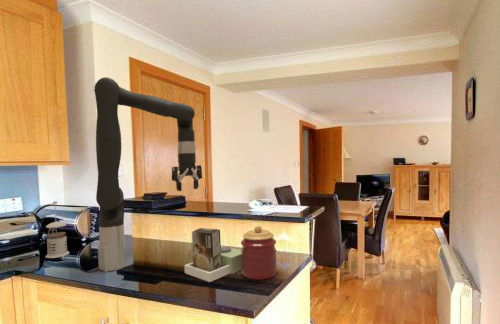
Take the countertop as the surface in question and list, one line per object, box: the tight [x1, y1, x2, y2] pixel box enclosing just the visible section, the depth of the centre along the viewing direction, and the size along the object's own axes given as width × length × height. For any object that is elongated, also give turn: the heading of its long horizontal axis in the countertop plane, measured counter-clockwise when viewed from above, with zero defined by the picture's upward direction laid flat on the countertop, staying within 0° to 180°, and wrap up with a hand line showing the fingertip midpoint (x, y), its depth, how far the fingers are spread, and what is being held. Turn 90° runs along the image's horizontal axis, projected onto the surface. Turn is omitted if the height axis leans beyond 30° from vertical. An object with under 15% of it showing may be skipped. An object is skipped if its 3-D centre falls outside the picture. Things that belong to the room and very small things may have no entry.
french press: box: [44, 200, 70, 259], centre depth 148 cm, size 10×12×25 cm
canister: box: [240, 225, 278, 281], centre depth 116 cm, size 13×13×18 cm
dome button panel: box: [184, 244, 242, 283], centre depth 121 cm, size 19×16×7 cm
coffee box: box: [191, 227, 222, 272], centre depth 118 cm, size 9×6×16 cm
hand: (187, 189), depth 137 cm, fingers open, 8 cm apart
